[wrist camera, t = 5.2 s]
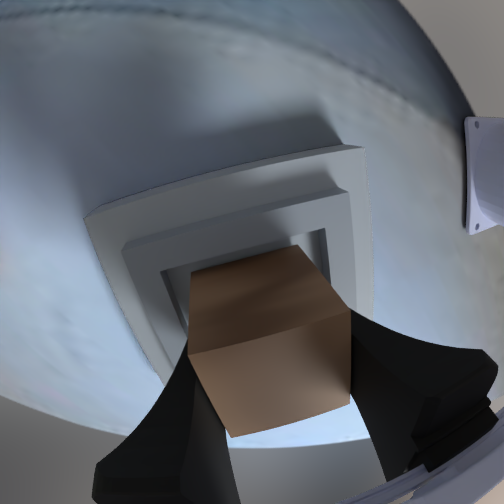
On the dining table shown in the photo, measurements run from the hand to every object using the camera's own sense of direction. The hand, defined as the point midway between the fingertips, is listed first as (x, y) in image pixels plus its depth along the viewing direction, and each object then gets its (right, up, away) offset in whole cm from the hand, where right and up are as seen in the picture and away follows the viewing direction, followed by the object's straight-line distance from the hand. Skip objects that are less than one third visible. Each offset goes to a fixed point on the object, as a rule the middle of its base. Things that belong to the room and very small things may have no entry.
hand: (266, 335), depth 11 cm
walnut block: (0, +1, +2) cm, 2 cm away
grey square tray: (-1, +2, +4) cm, 4 cm away
